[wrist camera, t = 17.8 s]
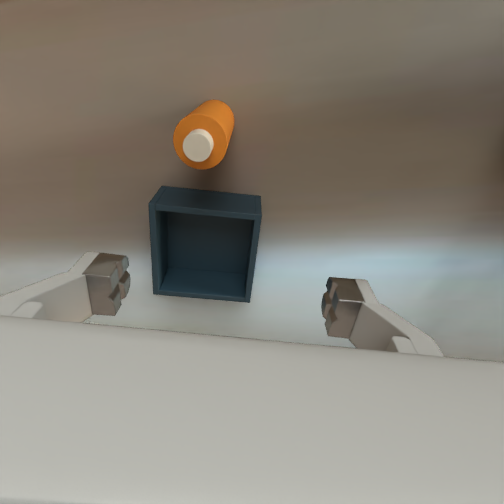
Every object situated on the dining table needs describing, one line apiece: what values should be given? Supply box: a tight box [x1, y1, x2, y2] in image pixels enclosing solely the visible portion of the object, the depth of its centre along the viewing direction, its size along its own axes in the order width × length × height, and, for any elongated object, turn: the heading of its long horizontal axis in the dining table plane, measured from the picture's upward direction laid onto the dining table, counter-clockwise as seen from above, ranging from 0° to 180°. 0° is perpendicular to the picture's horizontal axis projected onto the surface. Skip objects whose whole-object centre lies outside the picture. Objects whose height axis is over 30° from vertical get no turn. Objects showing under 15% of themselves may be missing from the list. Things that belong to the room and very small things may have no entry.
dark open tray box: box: [149, 186, 262, 303], centre depth 45 cm, size 14×14×7 cm
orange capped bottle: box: [173, 100, 234, 169], centre depth 34 cm, size 5×5×15 cm
